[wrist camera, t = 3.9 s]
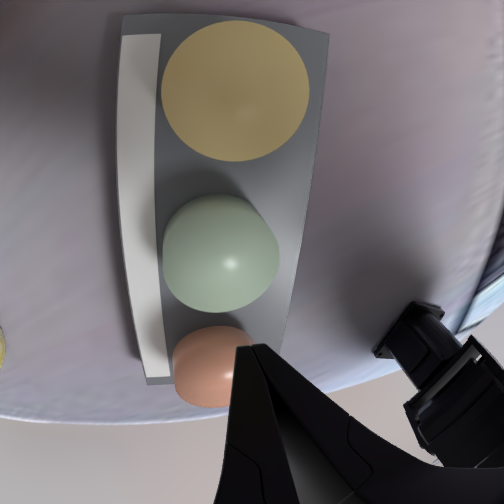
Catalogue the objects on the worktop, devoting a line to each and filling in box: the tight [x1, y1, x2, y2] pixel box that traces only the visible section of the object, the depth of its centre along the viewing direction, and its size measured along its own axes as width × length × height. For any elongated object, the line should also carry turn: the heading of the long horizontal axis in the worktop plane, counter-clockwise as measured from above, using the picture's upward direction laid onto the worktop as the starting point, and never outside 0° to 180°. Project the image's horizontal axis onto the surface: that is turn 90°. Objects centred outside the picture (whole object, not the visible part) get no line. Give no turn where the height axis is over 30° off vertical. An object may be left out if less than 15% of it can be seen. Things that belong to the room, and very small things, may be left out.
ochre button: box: [161, 21, 309, 162], centre depth 10 cm, size 5×5×2 cm
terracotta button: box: [172, 326, 255, 408], centre depth 16 cm, size 5×5×2 cm
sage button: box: [163, 194, 280, 313], centre depth 14 cm, size 5×5×2 cm
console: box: [115, 13, 329, 385], centre depth 16 cm, size 9×21×2 cm, turn 175°
